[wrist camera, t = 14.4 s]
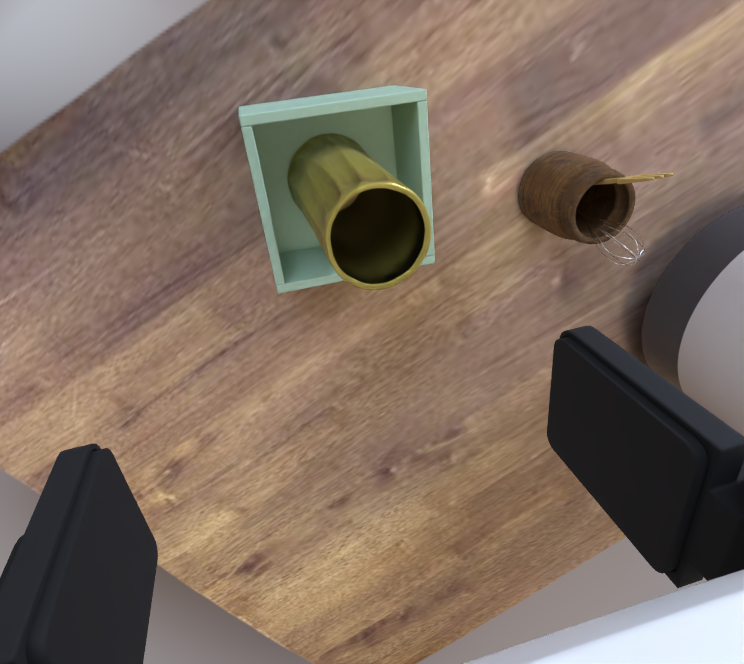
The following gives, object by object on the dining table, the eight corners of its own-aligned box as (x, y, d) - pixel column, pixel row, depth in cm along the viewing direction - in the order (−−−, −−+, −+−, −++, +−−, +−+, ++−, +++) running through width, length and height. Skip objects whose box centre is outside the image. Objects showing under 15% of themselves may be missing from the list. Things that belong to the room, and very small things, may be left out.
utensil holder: (515, 231, 42) (606, 286, 31) (515, 153, 39) (616, 185, 28) (580, 216, 43) (690, 265, 32) (585, 138, 39) (708, 165, 29)
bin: (238, 106, 33) (238, 115, 27) (395, 84, 34) (426, 89, 29) (271, 259, 38) (277, 294, 32) (406, 234, 40) (435, 263, 34)
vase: (314, 236, 37) (352, 320, 25) (270, 160, 34) (288, 214, 22) (386, 195, 37) (459, 259, 25) (348, 115, 34) (410, 144, 22)
